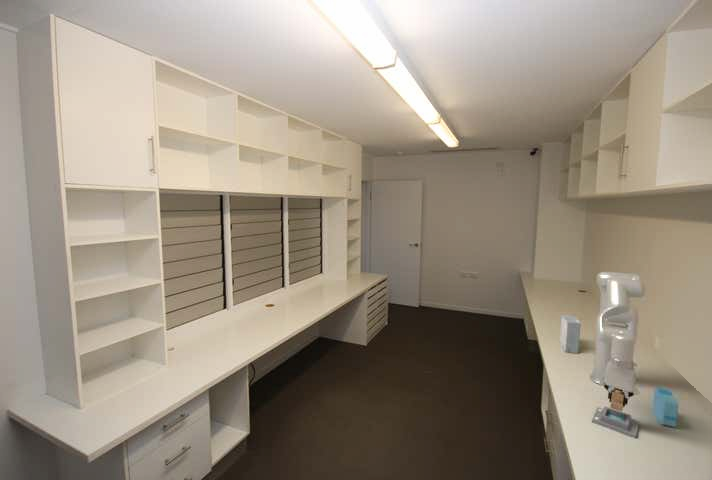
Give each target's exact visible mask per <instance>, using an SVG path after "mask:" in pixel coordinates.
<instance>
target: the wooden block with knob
mask: <svg viewBox="0 0 712 480" xmlns="http://www.w3.org/2000/svg"><path fill="white" fill-rule="evenodd" d="M612 390H613V391H612V397H611V402H610V408H611V409H614V410H617V411H620V412H623V410H624V406H623V398H624V395H625V393H624V390H621V389H617V388H614V387H613V388H612Z"/></svg>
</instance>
